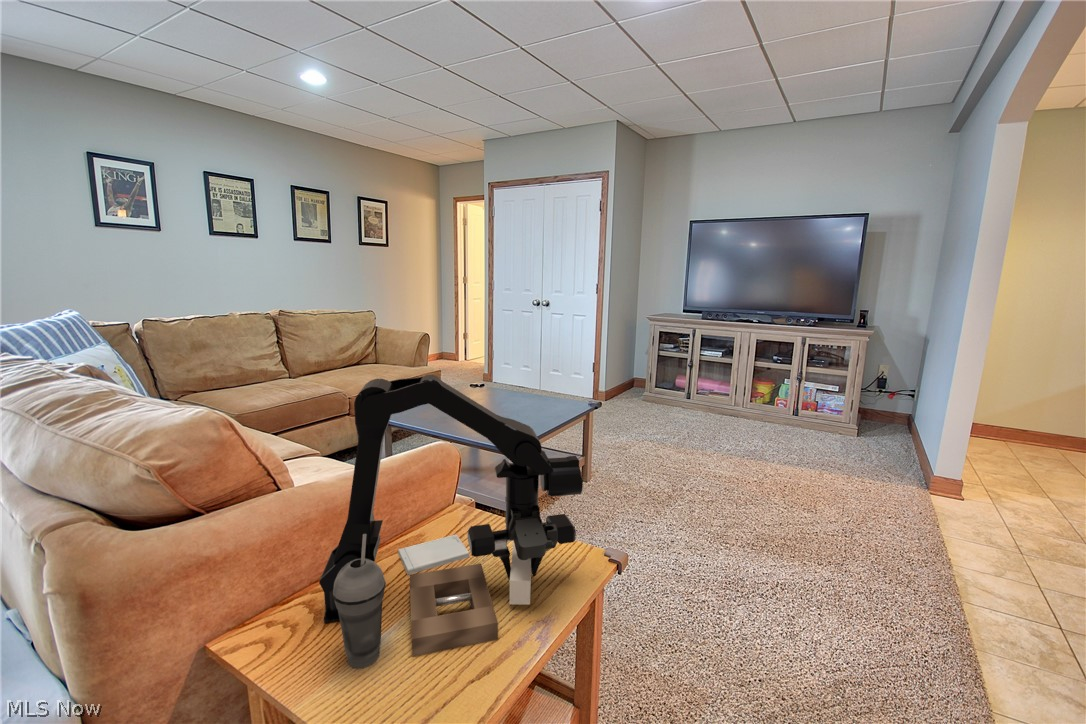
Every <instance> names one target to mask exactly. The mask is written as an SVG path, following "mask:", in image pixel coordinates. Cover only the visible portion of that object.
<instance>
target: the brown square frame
mask: <svg viewBox="0 0 1086 724" xmlns="http://www.w3.org/2000/svg"><path fill="white" fill-rule="evenodd" d="M409 598H410V600H409V601H410V624H411V625H410V626H411V650H412V651H411V654H412V655H411V656H412V657H413V658H414V657H418V656H422V655H428V654H432V653H436V652H443V651H448V650H452V649H458V648H463V647H467V646H472V645H476V644H481V643H487V642H491V641H496V640H498V639H499V634H498V633H499V624H498V623H499V622H498V618H497V615H496V611H495V607H494V603H493V601H492V597H491V594H490V590H489V587H488V583H487V580H486V576H485V572H484V568H483V565H482V563H476V564H469V565H464V566H457V567H451V568H445V569H438V570H431V571H425V572H417V573H413V574H410V575H409ZM464 602H469V604H470V608H471V609H467V610H463V611H457V612H456V611H455V612H451V613H446V614H441V615H438V612H437V607H443V606H448V605H453V604H458V603H459V604H460V603H464Z"/></svg>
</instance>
